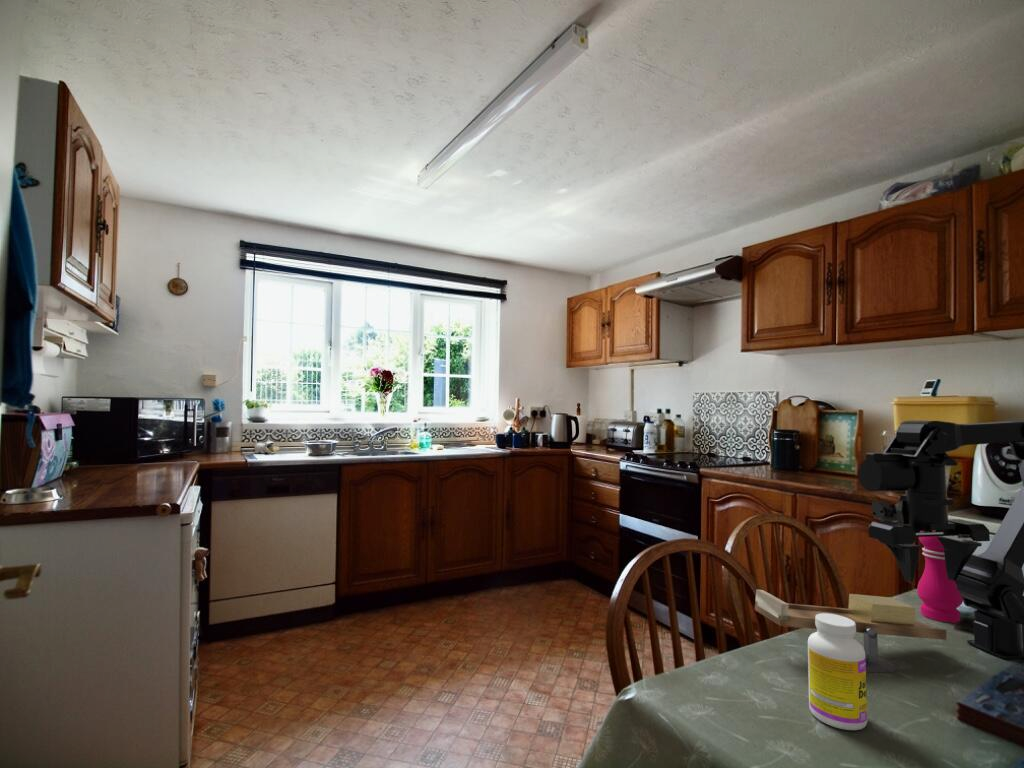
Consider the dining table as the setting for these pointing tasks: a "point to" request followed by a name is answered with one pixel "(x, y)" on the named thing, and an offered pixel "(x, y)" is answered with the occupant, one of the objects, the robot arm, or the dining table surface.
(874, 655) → the stand
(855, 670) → the supplement bottle
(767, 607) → the balance beam
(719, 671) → the dining table surface
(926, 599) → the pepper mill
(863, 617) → the brass rider
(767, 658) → the dining table surface
